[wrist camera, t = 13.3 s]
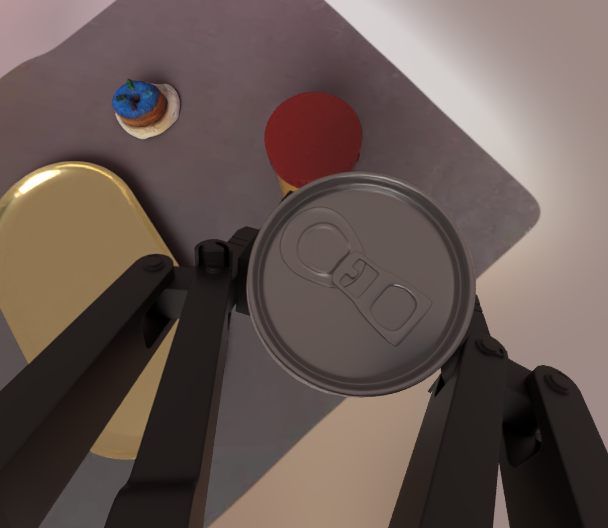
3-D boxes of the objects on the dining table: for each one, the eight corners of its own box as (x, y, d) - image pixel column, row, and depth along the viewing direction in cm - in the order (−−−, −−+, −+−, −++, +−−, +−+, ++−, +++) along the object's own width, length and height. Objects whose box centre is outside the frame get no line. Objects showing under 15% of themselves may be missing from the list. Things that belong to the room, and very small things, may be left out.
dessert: (124, 147, 37) (91, 94, 33) (130, 129, 42) (102, 81, 37) (189, 128, 38) (164, 73, 33) (187, 112, 42) (166, 63, 38)
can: (331, 230, 20) (343, 109, 8) (410, 295, 19) (551, 264, 7) (264, 305, 20) (177, 289, 8) (342, 376, 19) (377, 482, 7)
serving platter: (102, 138, 38) (93, 131, 37) (258, 382, 32) (255, 385, 31) (-30, 224, 37) (-45, 220, 36) (107, 491, 31) (96, 500, 30)
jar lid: (372, 121, 27) (376, 107, 25) (342, 203, 26) (344, 195, 24) (287, 95, 28) (284, 80, 26) (254, 174, 27) (249, 163, 25)
